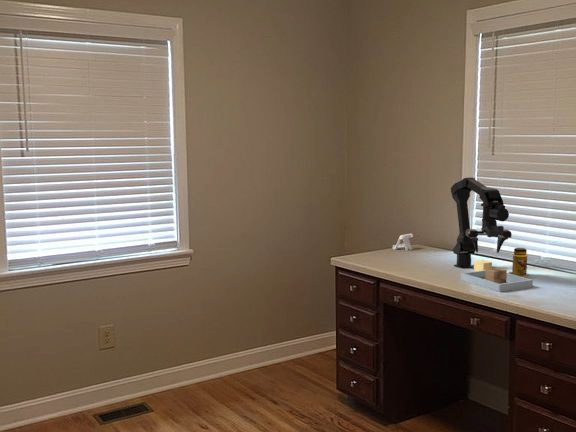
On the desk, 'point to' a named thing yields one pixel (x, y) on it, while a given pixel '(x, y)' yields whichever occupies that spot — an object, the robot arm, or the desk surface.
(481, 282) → the gray tray
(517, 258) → the condiment
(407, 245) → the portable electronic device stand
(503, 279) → the walnut block
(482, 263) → the mustard box
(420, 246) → the desk surface
